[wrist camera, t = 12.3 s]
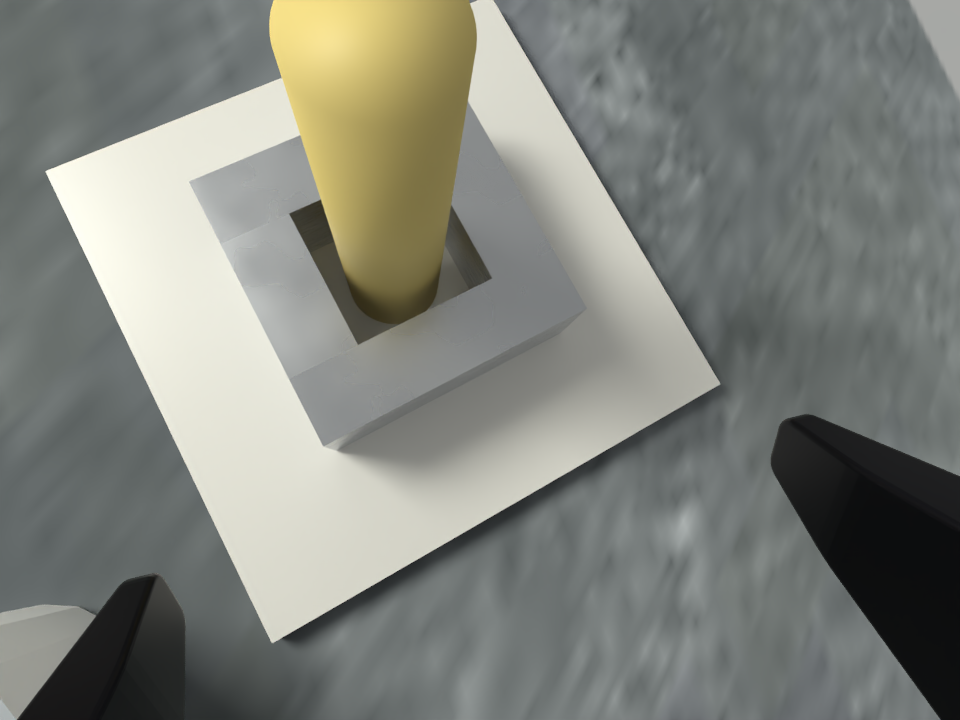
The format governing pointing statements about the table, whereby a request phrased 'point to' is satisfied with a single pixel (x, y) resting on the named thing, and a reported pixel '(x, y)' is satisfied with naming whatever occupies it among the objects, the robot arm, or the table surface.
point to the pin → (381, 133)
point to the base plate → (415, 436)
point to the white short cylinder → (34, 650)
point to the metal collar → (414, 343)
